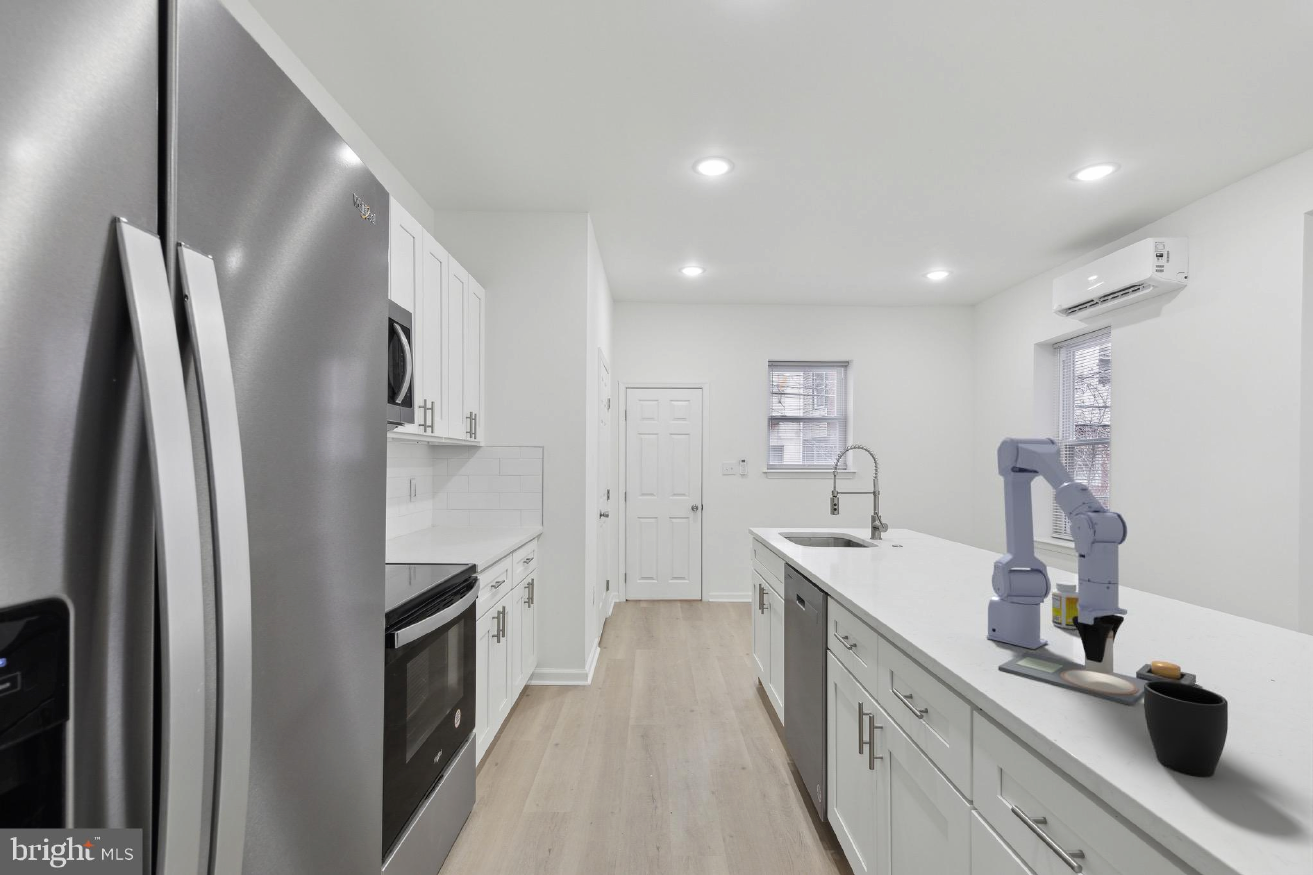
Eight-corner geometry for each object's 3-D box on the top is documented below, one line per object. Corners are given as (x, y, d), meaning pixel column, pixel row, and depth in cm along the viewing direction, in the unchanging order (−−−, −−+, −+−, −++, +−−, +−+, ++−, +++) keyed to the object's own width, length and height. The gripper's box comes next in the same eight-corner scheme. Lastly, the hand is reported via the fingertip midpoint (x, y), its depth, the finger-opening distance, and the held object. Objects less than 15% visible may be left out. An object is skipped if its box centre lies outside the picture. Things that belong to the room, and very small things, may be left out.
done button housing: (1136, 680, 108) (1136, 671, 108) (1146, 671, 112) (1146, 663, 112) (1187, 692, 102) (1187, 684, 102) (1195, 683, 107) (1195, 674, 107)
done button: (1148, 674, 107) (1148, 664, 107) (1154, 669, 110) (1154, 659, 110) (1178, 681, 104) (1177, 670, 104) (1183, 675, 107) (1182, 665, 107)
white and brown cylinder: (1081, 668, 105) (1081, 628, 105) (1088, 663, 108) (1088, 624, 108) (1109, 675, 102) (1109, 634, 102) (1116, 670, 105) (1116, 629, 105)
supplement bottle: (1083, 627, 141) (1083, 583, 141) (1076, 631, 137) (1076, 586, 138) (1056, 621, 145) (1056, 579, 145) (1048, 625, 142) (1048, 582, 142)
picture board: (998, 669, 112) (998, 665, 112) (1026, 654, 121) (1026, 650, 121) (1131, 705, 96) (1131, 700, 96) (1153, 685, 105) (1153, 680, 105)
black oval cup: (1218, 751, 82) (1218, 681, 82) (1233, 790, 72) (1233, 711, 72) (1141, 734, 87) (1141, 667, 87) (1145, 768, 77) (1145, 693, 77)
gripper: (1113, 590, 98) (1114, 674, 97) (1137, 579, 107) (1137, 655, 106) (1063, 582, 103) (1063, 661, 103) (1090, 572, 112) (1090, 645, 112)
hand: (1098, 658), depth 105 cm, fingers closed on white and brown cylinder, 4 cm apart
